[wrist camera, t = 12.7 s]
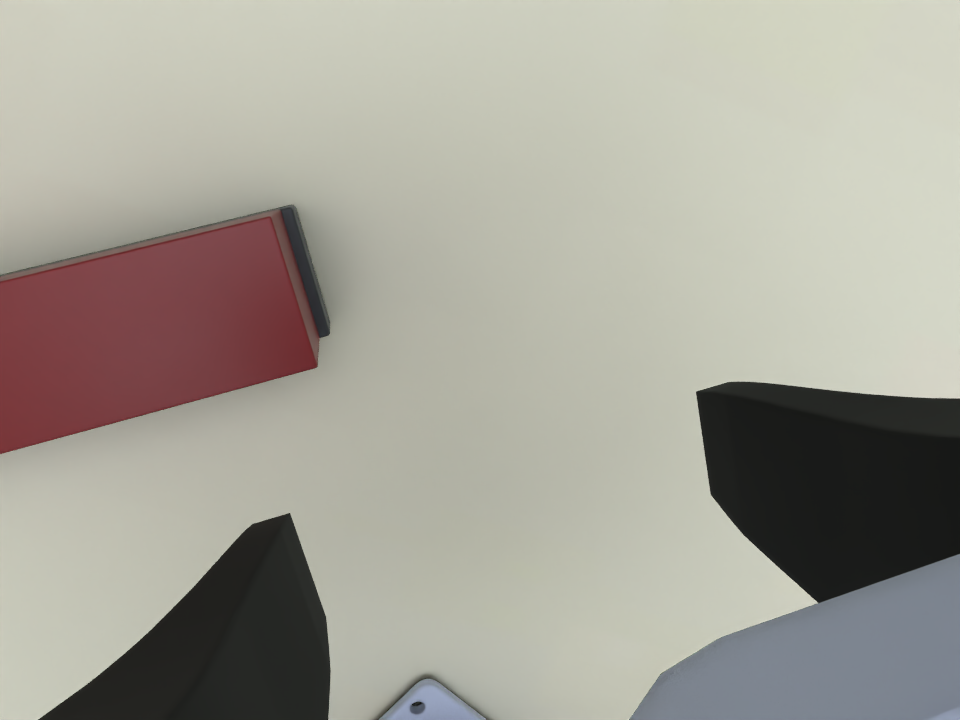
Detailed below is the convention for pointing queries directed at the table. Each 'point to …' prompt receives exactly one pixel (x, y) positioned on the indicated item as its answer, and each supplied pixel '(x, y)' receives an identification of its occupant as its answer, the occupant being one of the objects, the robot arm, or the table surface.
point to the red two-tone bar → (156, 325)
